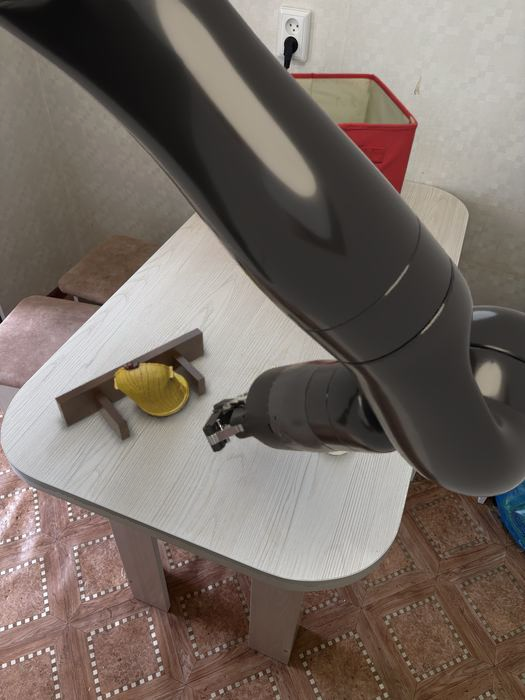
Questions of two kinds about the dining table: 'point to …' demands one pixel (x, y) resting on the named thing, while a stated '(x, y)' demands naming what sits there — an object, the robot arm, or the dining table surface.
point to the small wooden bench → (103, 393)
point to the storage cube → (367, 118)
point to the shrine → (153, 387)
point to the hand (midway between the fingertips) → (221, 411)
